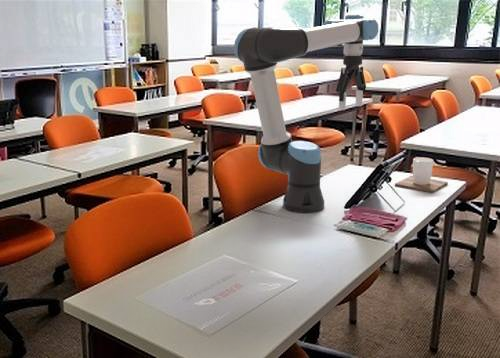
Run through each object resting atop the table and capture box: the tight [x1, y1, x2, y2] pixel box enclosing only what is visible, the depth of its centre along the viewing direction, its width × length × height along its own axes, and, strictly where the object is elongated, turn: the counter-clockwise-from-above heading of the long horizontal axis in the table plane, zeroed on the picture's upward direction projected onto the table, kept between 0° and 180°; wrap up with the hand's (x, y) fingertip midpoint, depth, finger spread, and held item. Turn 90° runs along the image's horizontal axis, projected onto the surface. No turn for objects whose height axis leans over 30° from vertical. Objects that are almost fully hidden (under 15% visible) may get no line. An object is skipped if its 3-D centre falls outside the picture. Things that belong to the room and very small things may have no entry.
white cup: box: [412, 156, 434, 185], centre depth 212 cm, size 8×8×10 cm
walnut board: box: [394, 175, 449, 194], centre depth 213 cm, size 16×16×1 cm
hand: (350, 107), depth 212 cm, fingers open, 13 cm apart
